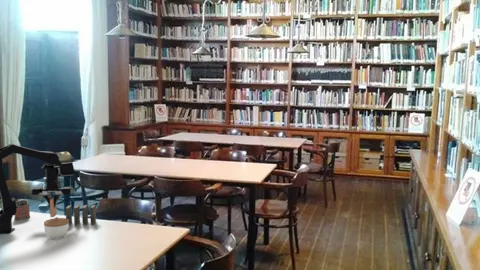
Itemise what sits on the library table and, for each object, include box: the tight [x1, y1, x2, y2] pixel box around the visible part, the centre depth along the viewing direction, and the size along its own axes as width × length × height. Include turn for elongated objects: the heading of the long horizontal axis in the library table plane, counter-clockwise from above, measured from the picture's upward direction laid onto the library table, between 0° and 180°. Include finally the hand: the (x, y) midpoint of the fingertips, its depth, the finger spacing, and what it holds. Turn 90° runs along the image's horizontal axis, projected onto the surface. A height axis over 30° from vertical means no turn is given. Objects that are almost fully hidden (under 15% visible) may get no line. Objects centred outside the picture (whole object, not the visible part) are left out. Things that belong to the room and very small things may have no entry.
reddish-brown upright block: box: [13, 199, 31, 221], centre depth 238 cm, size 8×3×10 cm, turn 141°
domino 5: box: [89, 204, 97, 226], centre depth 230 cm, size 5×2×9 cm, turn 6°
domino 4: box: [81, 204, 89, 226], centre depth 230 cm, size 5×2×9 cm, turn 6°
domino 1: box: [49, 196, 58, 218], centre depth 228 cm, size 5×2×9 cm, turn 6°
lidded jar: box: [43, 217, 70, 240], centre depth 208 cm, size 11×11×9 cm
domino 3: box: [73, 204, 81, 226], centre depth 229 cm, size 5×2×9 cm, turn 6°
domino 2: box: [65, 204, 73, 226], centre depth 229 cm, size 5×2×9 cm, turn 6°
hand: (53, 207), depth 227 cm, fingers closed on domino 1, 2 cm apart
